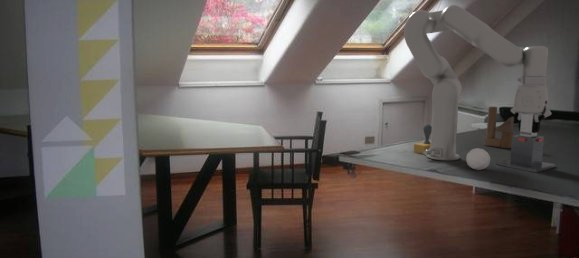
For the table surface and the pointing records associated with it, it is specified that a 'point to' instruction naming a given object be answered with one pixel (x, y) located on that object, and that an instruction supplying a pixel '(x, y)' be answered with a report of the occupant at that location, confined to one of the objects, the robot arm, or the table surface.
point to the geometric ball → (478, 159)
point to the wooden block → (498, 130)
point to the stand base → (527, 154)
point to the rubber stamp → (424, 145)
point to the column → (527, 125)
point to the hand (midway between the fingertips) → (528, 131)
